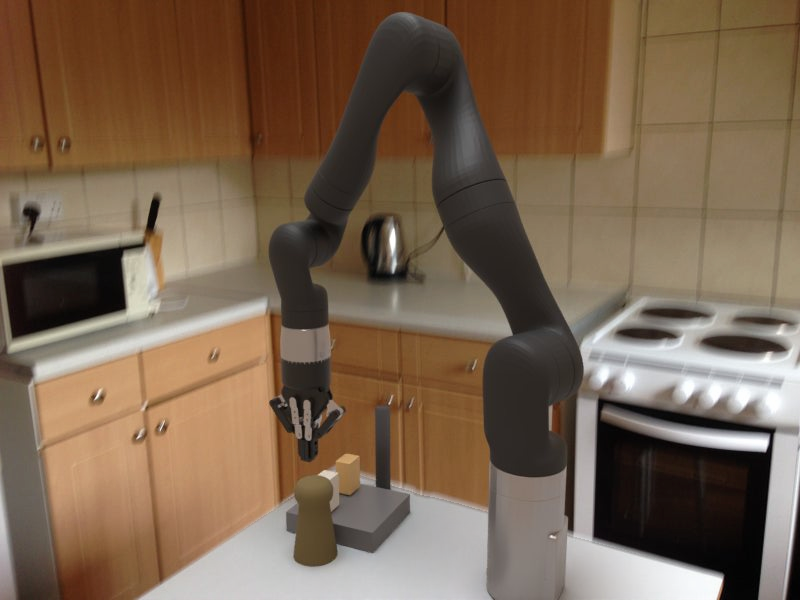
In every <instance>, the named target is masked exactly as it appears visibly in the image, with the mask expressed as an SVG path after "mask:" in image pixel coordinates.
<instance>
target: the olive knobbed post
mask: <svg viewBox="0 0 800 600" xmlns="http://www.w3.org/2000/svg"><path fill="white" fill-rule="evenodd" d="M293 494H294V498H295V501H296V504H297V503H298V504H299V508H298V518H297V527H296V533H295V537H294V547H293V556H292V557H293V559H294V561H295V562H296V563H297V564H300V565H301V566H304V567H320V566H325V565H328V564H329V563H331V562H333V561H334V560H335V559H336V558H337V556H338V546H337V545H338V544H336V539H335V533H334V527H333V521H332V515H331V509H330V503H329V502H330V501H331V499H332V496H333V486H332V483H331V482H330V480H329V479H328V478H326V477H324V476H320V475H318V474H311V475H307V476H304V477H302V478H300V479H299V480H298V481H297V482H296V484H295V486H294V493H293Z"/></svg>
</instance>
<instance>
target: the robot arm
mask: <svg viewBox="0 0 800 600" xmlns="http://www.w3.org/2000/svg"><path fill="white" fill-rule="evenodd" d="M354 81H355V82H354V84H353V87H352V89H351V92H350V95H349V98H348V101H347V104H346V107H345V109H344V112H343V115H342V118H341V120H340V123H339V125H338V128H337V131H336V133H335V135H334V138H333V140H332V141H331V143H330V146H329V148H328V150H327V152H326V154H325V156H324V158H323V159H322V161H321V163H320V165H319V166H318V168H317V170H316V172H315V173H314V175H313V177H312V179H311V180H310V183H309V185H308V186H307V189H306V191H305V193H304V197H303V202H304V205H305V207H306V209H307V210H308V212H309V214H308V216H307V217H306V219H305V220H299V221H294V222H293V221H292V222H286V223H282V224H280V225H278V226H277V227H276V228H275V229H274V230H273V232H272V233H271V235H270V239H269V241H268V259H269V263H270V268H271V271H272V274H273V277H274V281H275V284H276V288H277V290H278V293H279V297H280V317H281V318H280V319H281V322H280V323H281V324H280V325H281V328H280V345H279V347H280V371H281V372H280V374H281V375H280V377H281V381H280V382H281V383H282V387H281V390H280V394H279V395H278V396H275V397H273V398H272V399H270V400H269V402H268V403H269V406H270V408H271V409H272V411H273V412H274V414H275V416H276V417H277V419H278V420H279V422H280V424H281V425H282V427H283V428H284V430H285V431H286V433H288V434H291V433H292V434H294V435H295V438H297V454H298V457H300V461H301V462H307V463H311V462H313V461H314V460H315V459H316V457H318V455H319V440H320V439H321V438H323V437H325V436H326V435H327V434H329V433H330V432H331V430H332V429H333V428H334V427H335V425H336V424H337V423H338V422H339V421H340V419H341V418H342V417H343V416H344V414H346V412H347V409H346V407H345V406H344V405H340V406H339V405H338V403H336V402H335V401H334V395H333V392H332V391H331V382H332V360H331V359H332V352H331V348H332V347H331V343H332V342H331V333H330V327H329V325H330V324H329V323H330V322H329V295H328V291H327V289H326V288H325V287H324V286H323V285H321V284H318V283H314V282H313V279H312V276H311V272H310V271H311V270H310V269H312V268H316V267H321V266H323V265H325V264H327V263H329V261H331V259H333V257H334V256H335V255H336V253H337V252H338V251H339V249H340V246H341V244H342V241H343V239H344V236H345V235H344V234H345V231H346V229H347V225H348V220H349V217H350V214H351V213H352V212H353V210H354V209H355V207H356V205H357V203H359V200H360V199H361V197H362V195H363V193H364V192H365V190H366V188H367V187H368V185H369V183H370V181H371V179H372V176H373V173H374V170H375V166H376V160H377V153H378V152H377V151H378V141H379V136H380V132H381V129H382V125H383V123H384V120H385V119H386V116H387V115H388V112H389V111H390V109H391V108H392V106H393V105H394V104H395V102H396V101H397V100H398V98H399V97H400V96H401V94H402V93H407V94H412V95H413V96H414V97H415V98H416V100H417V101H418V103H419V105H420V107H421V109H422V111H423V112H422V113H423V115H424V117H425V119H426V122H427V125H428V127H429V130H430V133H431V137H432V143H433V156H432V157H433V159H432V168H431V169H432V170H431V192H432V197H433V201H434V205H435V207H436V211H437V213H438V215H439V219H440V221H441V224H442V226H443V229H444V232H445V235H446V237H447V239H448V241H449V243H450V245H451V247H452V249H453V250H454V251H455V252H456V254H457V255H458V257H459V258H460V259H461V260H462V261H463V262H464V264H466V266H467V267H468V268H469V270H471V271H472V272H473V273H474V274H475V275H476V276H477V277H478V278H479V279H480V280H481V281H482V282H483V283H484V284H485V286H486V287H487V288H488V289H489V290H490V291H491V292H492V293H493V295H494V297H495V298H496V299H497V302H498V303H499V305H500V307H501V309H502V311H503V313H504V315H505V317H506V320H507V323H508V326H509V328H510V331H511V335H510V336H506V337H504V338H501V339H499V340H497V341H495V342H494V343H493V344H492V345H491V346H490V347H489V349H488V351H487V352H486V355H485V359H484V363H483V368H482V411H483V413H482V415H483V432H484V435H485V436H484V437H485V439H486V442H487V444H488V448H489V467H488V468H489V470H488V471H489V473H488V476H489V477H488V504H487V505H488V506H487V507H488V508H487V509H488V511H487V513H488V514H487V545H486V547H487V550H486V551H487V553H486V556H487V557H486V573H485V574H486V589H487V592H488V593H489V595H490V596H491V598H493V599H494V600H560V597H561V594H562V592H563V590H564V587H565V585H566V568H567V567H566V564H567V547H568V546H567V545H568V529H569V528H568V527H569V525H568V524H569V517H568V516H567V515H566V514H565V510H566V509H565V508H566V507H565V506H566V504H565V503H566V485H567V468H568V467H567V464H568V445H567V442H566V440H565V439H564V438H563V436H561V435H560V434H558V433H557V432H554V431H552V430H551V431H550V430H549V406H551V405H555V404H558V403H560V402H562V401H565V400H567V399H570V398H572V396H574V395H575V394H576V393H577V392H578V391H579V389H580V387H581V385H582V383H583V380H584V374H585V373H584V372H585V370H584V369H585V367H584V366H585V365H584V361H583V355H582V353H581V350H580V347H579V345H578V341H576V338H575V336H574V334H573V331H572V329H571V328H570V326H569V324H568V322H567V320H566V318H565V316H564V315H563V312H562V310H561V309H560V306H559V304H558V303H557V301H556V299H555V297H554V295H553V293H552V291H551V289H550V287H549V285H548V282H547V280H546V278H545V275H544V273H543V271H542V267H540V263H539V261H538V259H537V256H536V254H535V251H534V249H533V245H532V244H531V241H530V239H529V237H528V234H527V232H526V229H525V227H524V223H523V222H522V219H521V215H520V213H519V209H518V207H517V204H516V202H515V199H514V197H513V194H512V191H511V189H510V186H509V183H508V181H507V179H506V176H505V174H504V171H503V170H502V167H501V165H500V162H499V159H498V157H497V154H496V152H495V149H494V147H493V144H492V142H491V141H492V140H491V139H490V136H489V134H488V131H487V129H486V127H485V124H484V122H483V119H482V117H481V113H480V112H479V111H480V110H479V108H478V104H477V101H476V98H475V94H474V90H473V87H472V82H471V79H470V76H469V72H468V68H467V64H466V61H465V58H464V53H463V51H462V47H461V45H460V42H459V40H458V38H457V37H456V36H455V34H454V33H453V32H452V30H450V29H449V28H448V27H446V26H445V25H442V24H441V23H440V22H439V23H438V22H436V21H433V20H431V19H428V18H425V17H422V16H421V15H418V14H415V13H411V12H406V11H402V12H401V11H399V12H395V13H392V14H391V15H388V16H387V17H386V18H385V19H384V20H382V21H381V22H380V24H378V27H377V28H376V29H375V32H374V33H373V35H372V36H371V39H370V41H369V44H368V46H367V48H366V51H365V54H364V55H363V59H362V62H361V65H360V68H359V71H358V73H357V76H356V79H355V80H354ZM326 410H327V411H326ZM325 411H326V415H325V416H326V418H325V420H324V421H323V422H322V419H323V414H324V412H325ZM321 422H322V424H321Z"/></svg>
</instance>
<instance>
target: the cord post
mask: <svg viewBox="0 0 800 600" xmlns="http://www.w3.org/2000/svg"><path fill="white" fill-rule="evenodd" d="M374 422H375V423H374V425H375V426H374V428H375V429H374V433H375V435H374V436H375V437H374V440H375V441H374V442H375V443H374V444H375V451H374V452H375V453H374V455H375V487H379V488H383V489H388V490H391V489H392V488H391V487H392V486H391V407H390V406H388V405H377V406H375V408H374Z"/></svg>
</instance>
